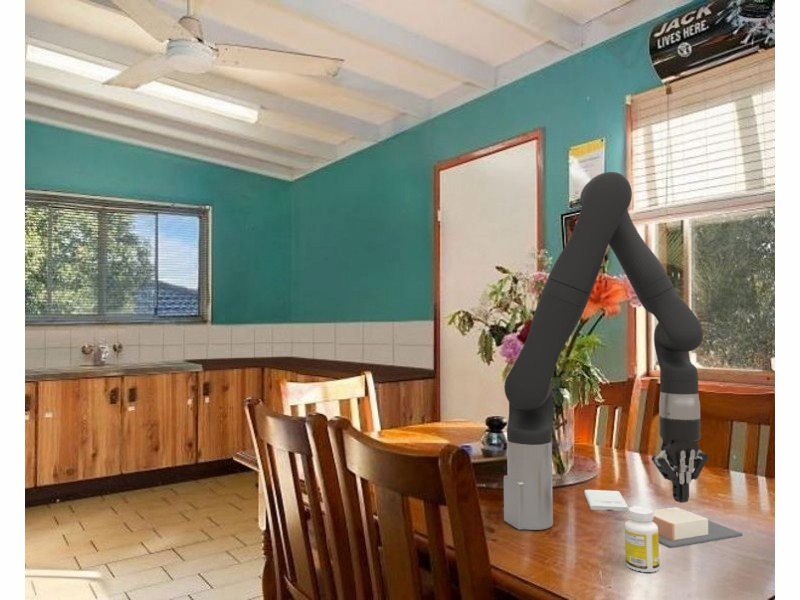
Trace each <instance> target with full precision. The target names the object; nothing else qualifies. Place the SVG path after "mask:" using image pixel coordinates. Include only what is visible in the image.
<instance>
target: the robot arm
mask: <svg viewBox="0 0 800 600" xmlns="http://www.w3.org/2000/svg"><path fill="white" fill-rule="evenodd" d="M632 196H633V192H632V186H631V183H630V182H629V180H628V179H627V177H626V176H624V175H623V174H621V173H619V172H616V171H605V172H603V173H600V174H597V175H596V176H593V178H591V179H590V180H588V182H587V183H586V184H585V185H584V187H583V188H582V190H581V192H580V198H579V199H580V200H579V201H580V207H581V208H580V211H579V213H578V217H577V220H576V224H575V227H574V229H573V232H572V234H571V236H570V237H569V240H568V241H567V243H566V244H565V246H564V247H563V249H562V251H561V253H560V254H559V256H558V257H557V260H556V261H555V263H554V264H553V267H552V269H551V271H550V273H549V274H548V276H547V280H546V282H545V284H544V286H543V289H542V292H541V295H540V296H539V300H538V303H537V305H536V308H535V310H534V315H533V317H532V320H531V323H530V327H529V332H528V334H527V337H526V340H525V342H524V344H523V346H522V349H521V351H520V353H519V354H518V356H517V358H516V360H515V361H514V363H513V365H512V367H511V369H510V370H509V372H508V374H507V376H506V377H505V380H504V385H503V386H504V394H505V397H506V399H507V401H508V421H507V427H506V438H507V439H506V449H507V450H506V451H507V452H506V453H507V454H506V457H507V459H506V462H507V463H506V464H507V466H506V467H507V468H506V469H507V475H506V474H505V475H504V476H503V521H504V522H506V523H507V524H509V525H510V526H512V527H514V528H516V529H517V530H528V531H530V530H531V531H533V530H534V531H538V530H546V529H549V528H551V527H553V526H554V512H553V511H554V509H553V508H554V506H553V503H554V501H553V445H552V444H553V443H552V442H553V441H552V440H553V436H552V433H553V432H552V431H553V384H552V383H553V382H552V379H553V376H554V373H555V368H556V366H557V363H558V360H559V358H560V355H561V352H562V350H563V349H564V347H565V346H566V345H567V342H568V341H569V339H570V337H571V336H572V335H573V333H574V331H575V329H576V327H577V325H578V324H579V322H580V320H581V318H582V316H583V314H584V312H585V309H586V307H587V305H588V302H589V300H590V298H591V295H592V292H593V290H594V287H595V284H596V282H597V279H598V275H599V273H600V270H601V267H602V264H603V261H604V258H605V255H606V251H607V249H608V246H609V247H610V249H611V250H612V251H613V253H614V255H615V257H616V258H617V261H618V263H619V264H620V266H621V269H622V270H623V272H624V274H625V276H626V277H627V279H628V282H629V283H630V286H631V287H632V289H633V291H634V293H635V295H636V297H637V298H638V300H639V302H640V304H641V306H642V307H643V308H644V310H645V311H646V312H648V313H650V314H652V315H653V316H654V317H655V318H656V320H657V322H658V323H657V324H656V326H655V328H654V334H653V344H654V350H655V354H656V359H657V363H658V365H659V385H660V386H659V390H660V392H659V400H658V401H659V402H658V404H659V405H658V406H659V407H658V409H659V410H658V412H659V436H660V438H661V439H662V443H661V446H660V452H659V453H658V455H652V456H651V461H652V462H653V464H654V465H655V467H656V468H657V470H658V471H659V474H661V476H662V477H663V479H664V480H668V481H670V482H672V497H673V499H674V501H675V502H678V503H680V504H683V503H688V501H689V498H690V483H691V482H692V481H693V480H697V479H699V476H700V474H701V472H702V471H703V468H704V467H705V465H706V463H707V461H708V459H709V454H708V453H706V452H703V451H702V450H701V449H700V445H699V442H698V441H699V440H701V436H702V433H701V430H702V429H701V403H700V397H699V395H700V394H699V373H698V369H697V367H696V366H695V365H694V364H692V362H691V359H690V353H689V352H693V351H694V350H696V349H697V348H699V347H700V346H701V345H702V342H703V339H704V331H703V327H702V325H701V323H700V321H699V319H698V318H697V316H696V315H695V313H694V312H693V310H692V309H691V308H690V307H689V306H688V305H687V303H686V302H685V300H683V298H682V297H681V296H680V295H679V294H678V293H677V290H676V288H675V287H674V285H673V283H672V281H671V278H670V276H669V275H668V273H667V271H666V269H665V267H664V266H663V265H662V263H661V261H660V260H659V258H658V257H657V256H656V254H654V252H653V251H652V249H651V248H650V247H649V246H648V245H647V244H646V242H645V241H644V239H643V238H642V237H641V235H640V233H639V232H638V230H637V228H636V226H635V224H634V222H633V221H632V219H631V215H630V212H629V210H628V208H629V206H630V205H631V203H632V198H633V197H632Z"/></svg>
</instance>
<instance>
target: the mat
mask: <svg viewBox="0 0 800 600" xmlns="http://www.w3.org/2000/svg"><path fill="white" fill-rule="evenodd" d="M743 534H744V533H742V532H740V531H737V530H735V529H733V528H729V527H727V526H725V525H721V524H719V523H717V522H713V521H712V520H709V519H708V535H702V536H696V537H690V538H684V539H678V540H673V541H672V540H670V539H668V538H666V537H663V536H661V535H659V534H658V538H659V544H660V545H664V546H666V547H667V548H670V549H671V548H672V547H673V548H678V547H677V546H679V547H683V545H684V546H689V544H690V545H695V544H700V543H707V541H708V542H712V541H718V540H723V539H724V540H726V539H730V538H735V537H741V536H743ZM673 548H672V549H673Z"/></svg>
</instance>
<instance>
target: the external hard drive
mask: <svg viewBox="0 0 800 600" xmlns="http://www.w3.org/2000/svg"><path fill="white" fill-rule="evenodd" d="M584 496H585V498H586V501H587V504H588V506H589V508H590V510H591V511H593V510H594V511H614V512H627V513H629V508H630V507H629V506H628V504H627V503H626V501H625V499H624V497H623V496H622V494H621V492H620V491H618V490H606V489H605V490H602V489H585V490H584Z"/></svg>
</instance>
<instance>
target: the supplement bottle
mask: <svg viewBox="0 0 800 600" xmlns="http://www.w3.org/2000/svg"><path fill="white" fill-rule="evenodd" d="M628 518H629V519H628V520H626V521H625V523H624V541H625V543H624V545H625V546H624V547H625V548H624V549H625V563H626V566H627V568H628V569H630V568H631V570H632V569H633V570H632V571H635V570H636V571H635V572H638V571H641V572H640V573H644V572H651V573H656V572H658V571H659V570H660V548H659V546H660V545H659V544H660V543H659V538H658V527H657V525H656V524H655V523H654V522H652V520H653V518H654V516H653V509H652V508H649V507H647V506H646V507H645V506H630V507H629V512H628ZM655 571H656V572H655Z"/></svg>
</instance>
